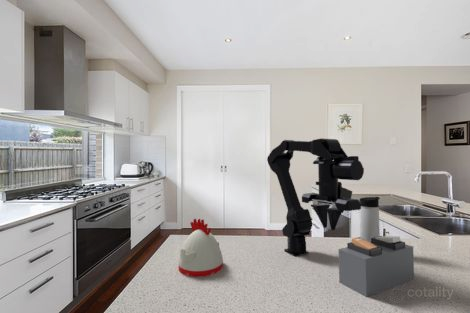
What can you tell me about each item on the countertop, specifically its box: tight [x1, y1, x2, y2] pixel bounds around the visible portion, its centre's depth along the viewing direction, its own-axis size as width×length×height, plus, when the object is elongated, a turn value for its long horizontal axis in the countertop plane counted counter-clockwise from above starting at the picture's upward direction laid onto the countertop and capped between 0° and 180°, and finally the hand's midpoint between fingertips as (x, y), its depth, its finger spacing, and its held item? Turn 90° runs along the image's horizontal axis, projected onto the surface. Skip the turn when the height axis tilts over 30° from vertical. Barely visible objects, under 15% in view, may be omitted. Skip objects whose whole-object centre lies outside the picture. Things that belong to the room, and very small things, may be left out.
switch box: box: [338, 235, 415, 297], centre depth 68 cm, size 8×20×10 cm, turn 116°
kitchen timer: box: [178, 218, 224, 278], centre depth 78 cm, size 14×14×15 cm
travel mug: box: [358, 196, 381, 242], centre depth 89 cm, size 6×7×20 cm
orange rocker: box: [350, 236, 377, 250], centre depth 66 cm, size 5×3×1 cm, turn 26°
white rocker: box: [375, 235, 401, 243], centre depth 70 cm, size 5×3×1 cm, turn 26°
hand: (329, 228), depth 76 cm, fingers open, 3 cm apart
